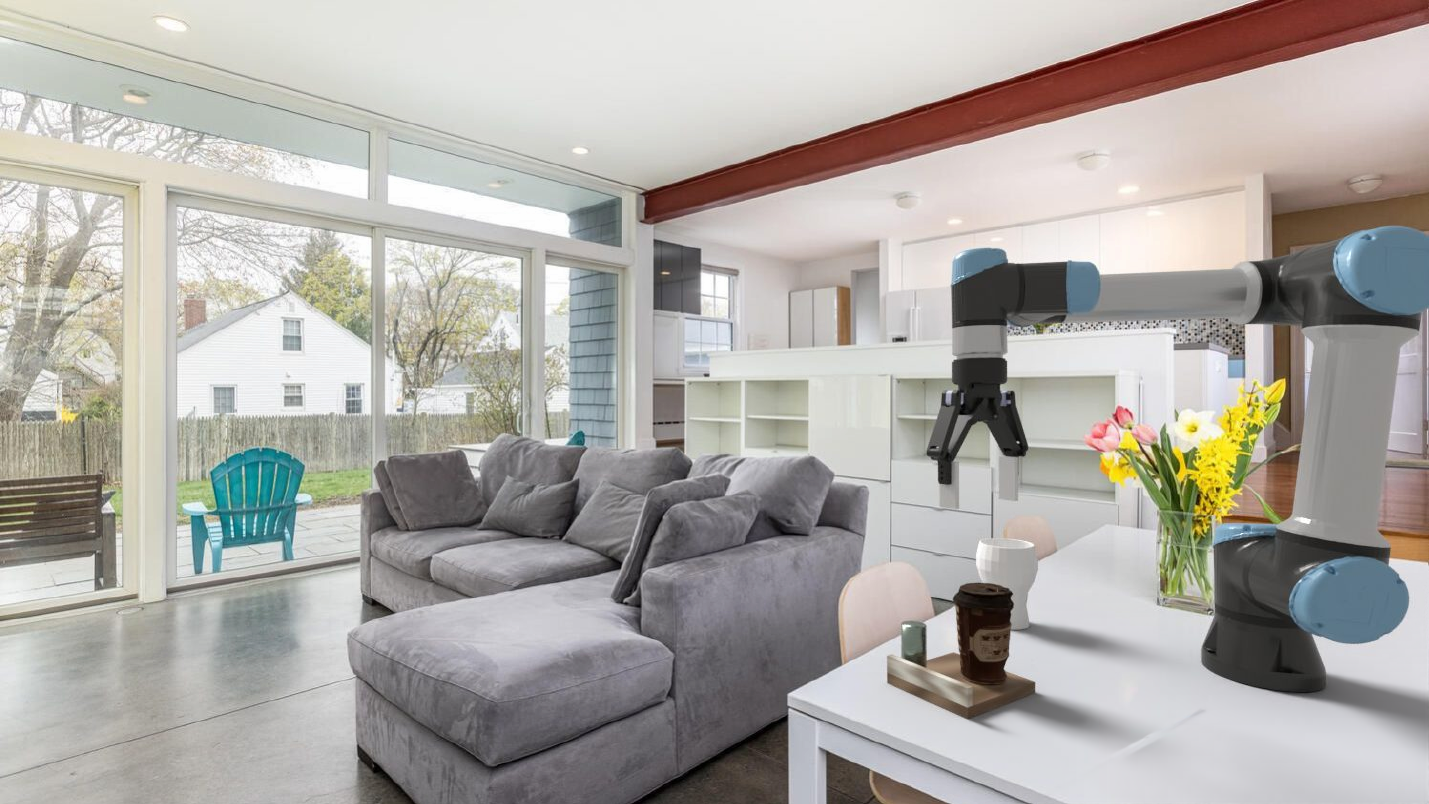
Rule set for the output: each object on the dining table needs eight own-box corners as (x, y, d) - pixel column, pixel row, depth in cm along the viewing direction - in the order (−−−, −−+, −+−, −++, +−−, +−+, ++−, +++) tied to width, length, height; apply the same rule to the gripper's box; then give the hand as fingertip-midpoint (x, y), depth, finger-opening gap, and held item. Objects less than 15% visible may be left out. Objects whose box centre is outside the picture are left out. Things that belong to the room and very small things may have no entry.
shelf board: (1035, 692, 99) (1035, 664, 99) (967, 718, 91) (967, 688, 91) (953, 661, 111) (953, 636, 111) (887, 682, 102) (887, 655, 102)
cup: (1030, 636, 122) (1030, 551, 122) (968, 625, 128) (968, 544, 128) (1044, 621, 130) (1043, 541, 130) (985, 611, 137) (985, 535, 137)
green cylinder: (931, 673, 102) (931, 625, 102) (915, 678, 100) (915, 630, 100) (912, 665, 105) (912, 619, 105) (896, 670, 103) (896, 623, 103)
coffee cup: (1030, 683, 98) (1029, 592, 98) (985, 694, 95) (985, 599, 95) (983, 662, 106) (983, 577, 106) (940, 671, 103) (940, 583, 103)
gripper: (1008, 361, 111) (1008, 494, 111) (899, 356, 97) (900, 507, 97) (1053, 358, 104) (1053, 499, 104) (943, 353, 91) (944, 515, 91)
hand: (979, 503), depth 101 cm, fingers open, 13 cm apart
